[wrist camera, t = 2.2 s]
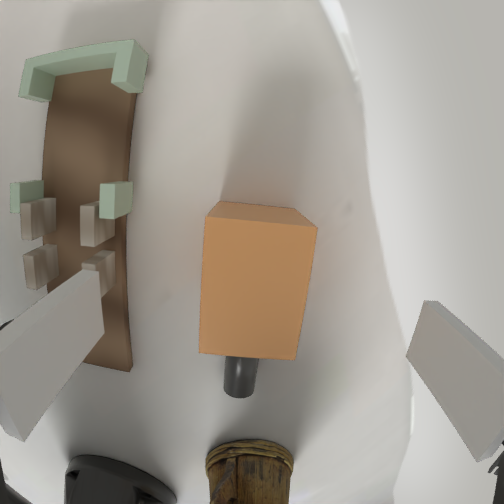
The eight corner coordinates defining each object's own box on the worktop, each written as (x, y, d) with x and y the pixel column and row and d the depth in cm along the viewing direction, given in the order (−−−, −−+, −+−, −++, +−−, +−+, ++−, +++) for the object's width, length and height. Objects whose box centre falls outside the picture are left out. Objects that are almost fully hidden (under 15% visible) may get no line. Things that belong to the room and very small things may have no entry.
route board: (133, 365, 24) (116, 396, 20) (64, 350, 23) (42, 375, 19) (142, 57, 18) (121, 36, 14) (62, 67, 17) (32, 54, 13)
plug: (269, 381, 24) (275, 443, 17) (208, 376, 24) (198, 438, 17) (294, 208, 21) (317, 227, 14) (219, 201, 20) (205, 216, 14)
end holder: (131, 211, 19) (114, 219, 17) (34, 206, 19) (10, 212, 16) (148, 54, 17) (134, 39, 14) (47, 68, 16) (25, 59, 13)
